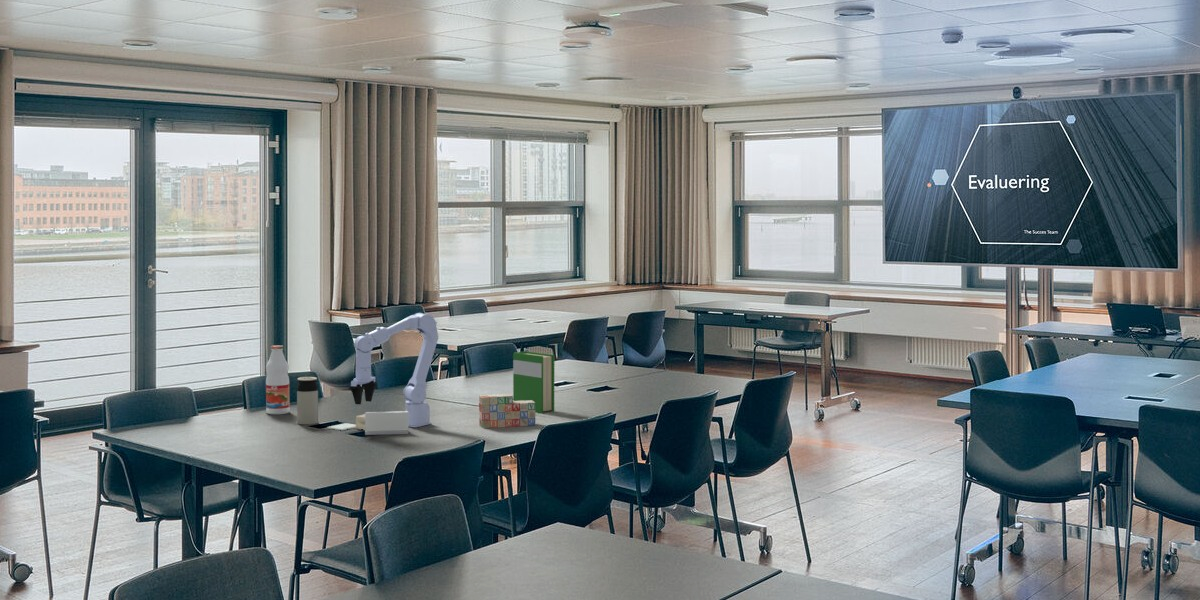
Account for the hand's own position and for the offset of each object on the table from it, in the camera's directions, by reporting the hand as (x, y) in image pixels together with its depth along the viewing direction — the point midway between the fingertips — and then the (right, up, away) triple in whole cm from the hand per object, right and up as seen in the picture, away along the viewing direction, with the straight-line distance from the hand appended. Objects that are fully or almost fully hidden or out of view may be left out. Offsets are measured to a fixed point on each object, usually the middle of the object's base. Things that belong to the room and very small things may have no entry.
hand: (363, 402), depth 437 cm
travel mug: (-25, -10, +14) cm, 30 cm away
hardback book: (+63, -8, +47) cm, 79 cm away
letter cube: (0, -10, +4) cm, 11 cm away
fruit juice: (-43, -8, +37) cm, 58 cm away
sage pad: (-9, -10, +5) cm, 14 cm away
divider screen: (+10, -11, -6) cm, 16 cm away
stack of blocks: (+54, -10, +12) cm, 56 cm away
